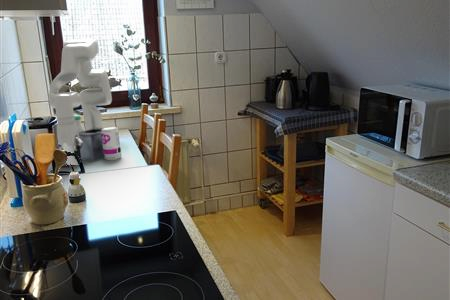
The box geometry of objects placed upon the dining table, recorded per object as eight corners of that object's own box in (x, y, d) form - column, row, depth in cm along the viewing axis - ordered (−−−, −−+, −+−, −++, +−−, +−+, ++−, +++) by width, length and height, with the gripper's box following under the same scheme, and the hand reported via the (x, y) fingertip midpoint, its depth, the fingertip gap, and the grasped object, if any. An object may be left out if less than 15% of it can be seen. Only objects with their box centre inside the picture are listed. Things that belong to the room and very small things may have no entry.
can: (75, 166, 185) (71, 141, 182) (63, 166, 187) (59, 141, 184) (83, 162, 192) (79, 138, 189) (71, 162, 193) (67, 138, 190)
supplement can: (111, 161, 191) (107, 130, 187) (101, 159, 196) (97, 129, 192) (125, 157, 197) (121, 127, 193) (114, 155, 202) (110, 126, 198)
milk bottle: (86, 155, 205) (80, 117, 200) (71, 156, 205) (65, 118, 200) (91, 152, 212) (85, 114, 208) (77, 152, 213) (71, 115, 208)
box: (76, 159, 198) (72, 134, 195) (99, 151, 212) (96, 127, 209) (94, 161, 193) (90, 134, 190) (117, 153, 207) (113, 128, 204)
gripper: (46, 121, 185) (52, 158, 189) (73, 122, 177) (79, 161, 181) (59, 119, 191) (65, 154, 195) (86, 119, 183) (91, 157, 188)
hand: (72, 157), depth 188 cm, fingers open, 7 cm apart
